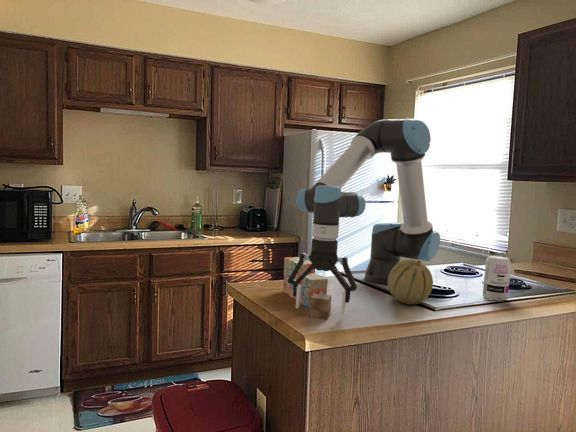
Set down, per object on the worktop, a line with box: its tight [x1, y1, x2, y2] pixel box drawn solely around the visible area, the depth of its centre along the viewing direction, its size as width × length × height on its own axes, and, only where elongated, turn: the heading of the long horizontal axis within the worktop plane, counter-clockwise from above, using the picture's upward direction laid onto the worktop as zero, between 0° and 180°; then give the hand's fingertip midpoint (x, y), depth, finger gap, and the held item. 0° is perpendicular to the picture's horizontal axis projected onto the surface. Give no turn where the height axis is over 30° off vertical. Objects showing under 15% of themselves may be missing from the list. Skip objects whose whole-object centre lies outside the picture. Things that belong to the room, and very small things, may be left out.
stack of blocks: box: [282, 256, 329, 309], centre depth 159 cm, size 21×6×12 cm, turn 23°
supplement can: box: [482, 255, 512, 301], centre depth 172 cm, size 8×8×15 cm
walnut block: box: [310, 294, 332, 321], centre depth 141 cm, size 5×5×6 cm
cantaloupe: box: [387, 259, 434, 305], centre depth 160 cm, size 15×15×15 cm
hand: (320, 310), depth 141 cm, fingers open, 13 cm apart
